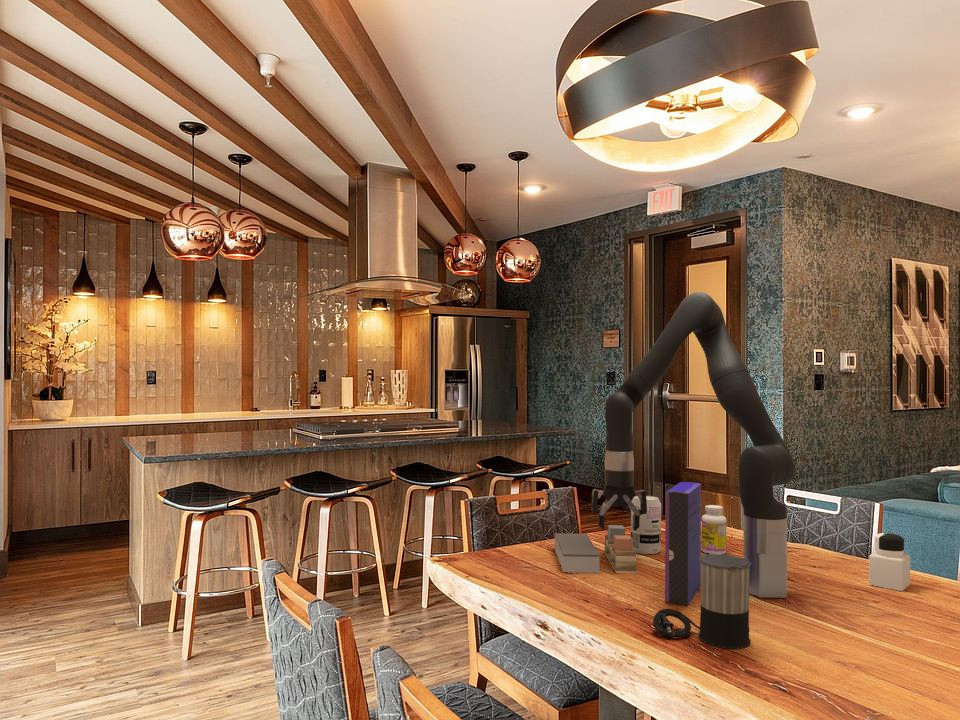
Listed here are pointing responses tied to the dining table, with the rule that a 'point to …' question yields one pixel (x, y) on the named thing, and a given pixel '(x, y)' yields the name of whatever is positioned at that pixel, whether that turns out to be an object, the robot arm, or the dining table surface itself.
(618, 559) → the pallet
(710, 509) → the supplement bottle
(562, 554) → the dock
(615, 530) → the block
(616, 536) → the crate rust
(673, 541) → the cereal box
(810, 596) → the dining table surface
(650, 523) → the supplement can
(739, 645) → the milk frother
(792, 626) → the dining table surface
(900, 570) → the white plastic bottle
